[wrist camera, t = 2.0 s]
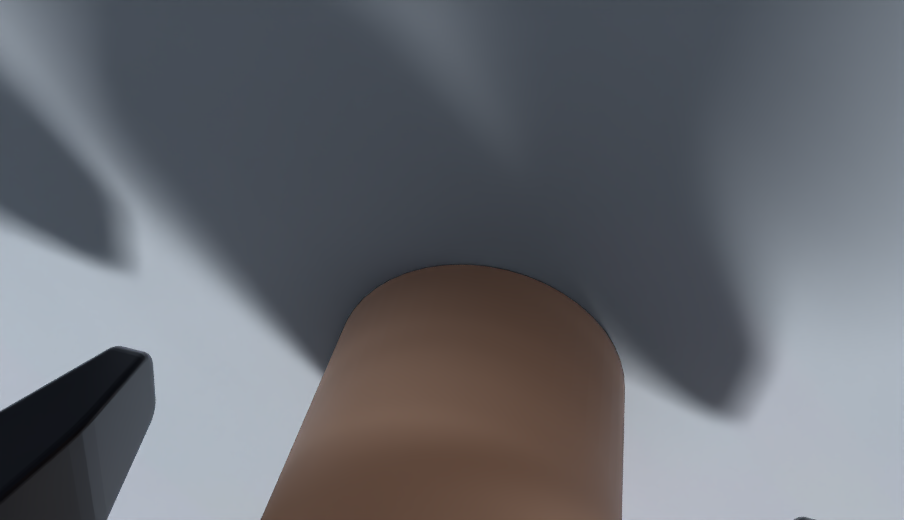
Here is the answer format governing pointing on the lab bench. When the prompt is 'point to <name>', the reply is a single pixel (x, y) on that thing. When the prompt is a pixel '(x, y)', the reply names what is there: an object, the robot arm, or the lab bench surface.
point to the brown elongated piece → (462, 408)
